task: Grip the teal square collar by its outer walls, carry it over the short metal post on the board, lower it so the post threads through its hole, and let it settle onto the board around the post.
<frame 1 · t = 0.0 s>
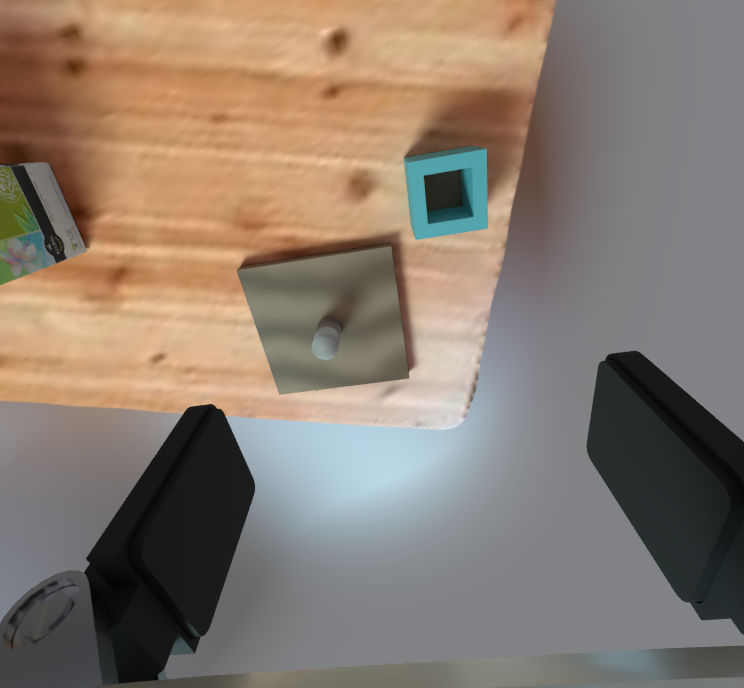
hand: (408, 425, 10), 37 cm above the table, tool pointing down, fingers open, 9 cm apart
post board: (330, 323, 49), on the table
collar: (440, 187, 41), on the table
tea box: (8, 212, 43), on the table
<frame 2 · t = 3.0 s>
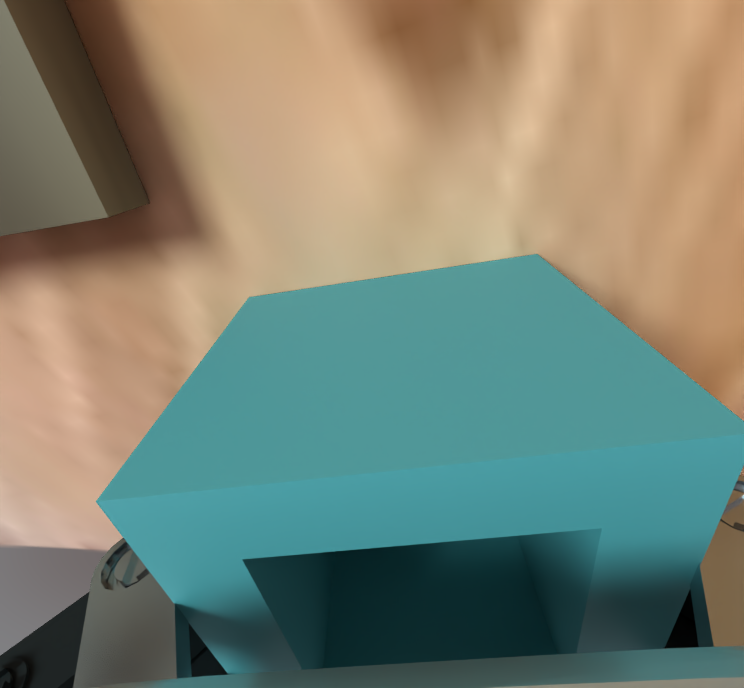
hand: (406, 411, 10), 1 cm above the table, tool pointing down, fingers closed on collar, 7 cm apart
collar: (405, 392, 11), on the table, touching gripper
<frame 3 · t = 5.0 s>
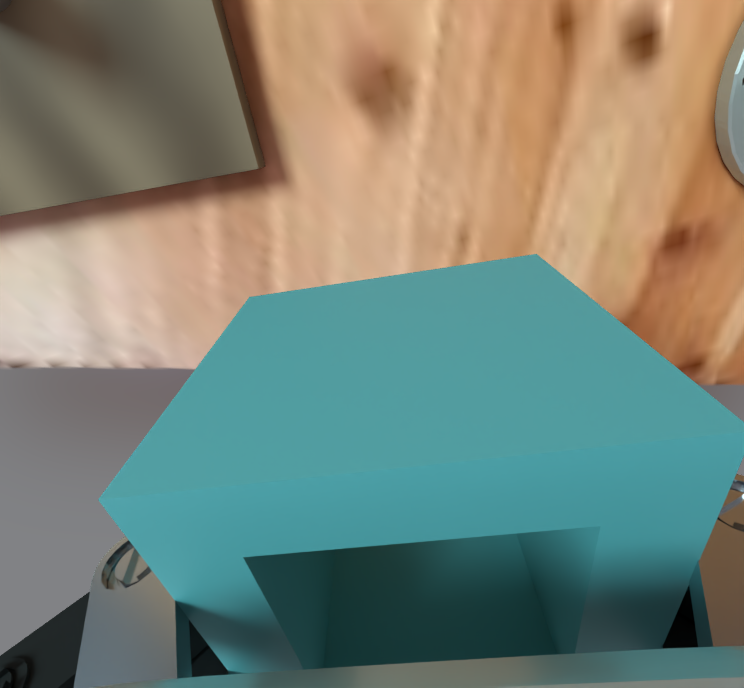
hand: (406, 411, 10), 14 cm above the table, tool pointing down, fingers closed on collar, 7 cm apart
collar: (405, 392, 11), point 14 cm above the table, touching gripper
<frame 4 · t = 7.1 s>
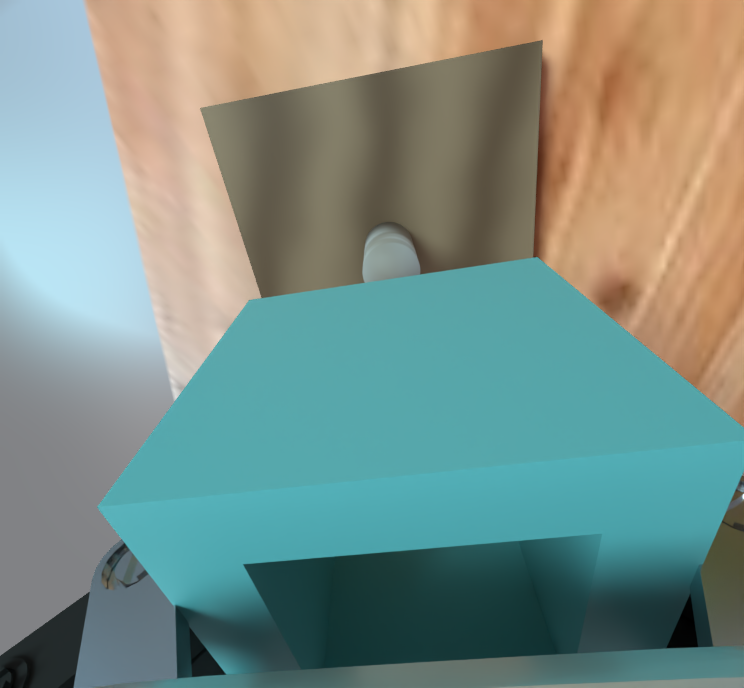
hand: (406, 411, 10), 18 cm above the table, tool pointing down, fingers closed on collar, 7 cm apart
post board: (388, 239, 26), on the table
collar: (405, 394, 11), point 17 cm above the table, touching gripper
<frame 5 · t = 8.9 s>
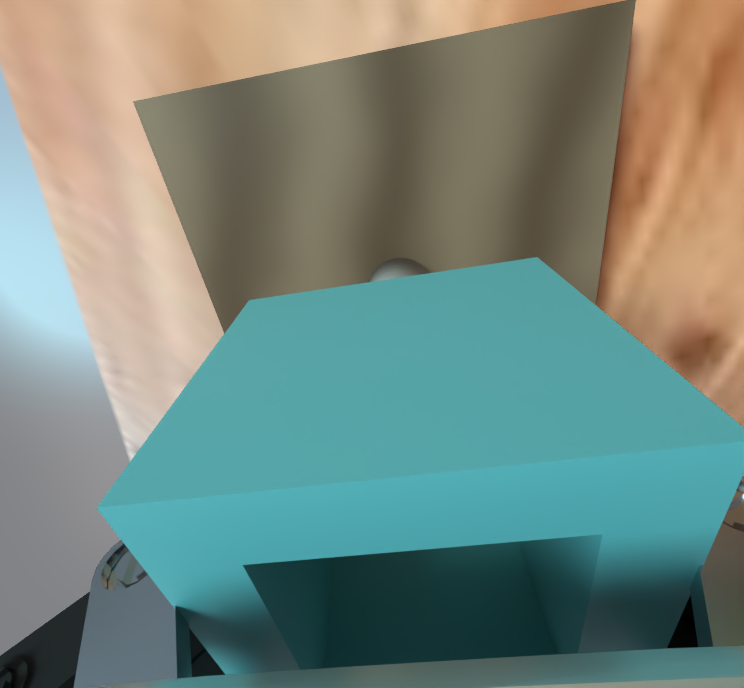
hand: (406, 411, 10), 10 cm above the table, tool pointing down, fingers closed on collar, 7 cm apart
post board: (398, 278, 19), on the table
collar: (405, 394, 11), point 10 cm above the table, touching gripper
when the fingers open (5 cm above the table, at t = 10.8 s): collar drops 2 cm, resting on post board.
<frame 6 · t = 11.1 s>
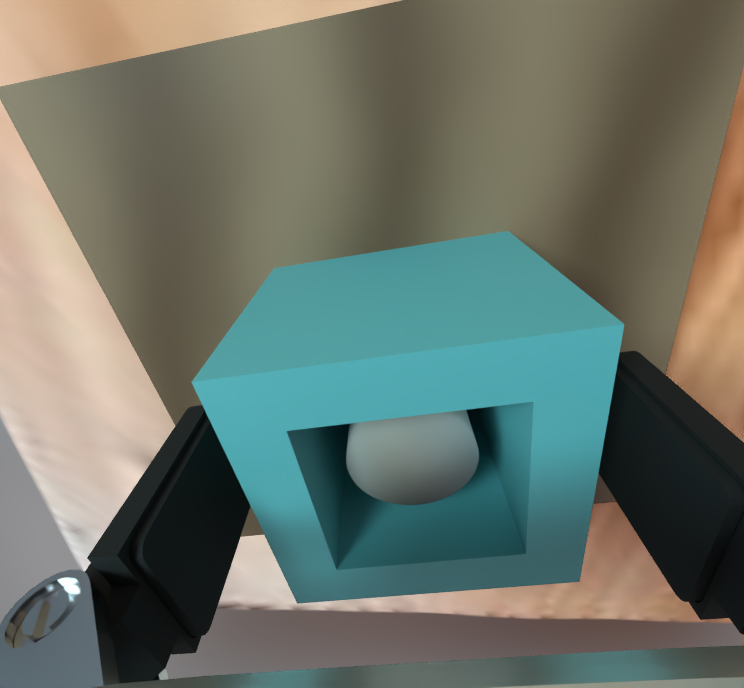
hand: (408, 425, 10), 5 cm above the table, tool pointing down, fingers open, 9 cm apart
post board: (398, 329, 14), on the table
collar: (402, 350, 13), point 1 cm above the table, touching post board
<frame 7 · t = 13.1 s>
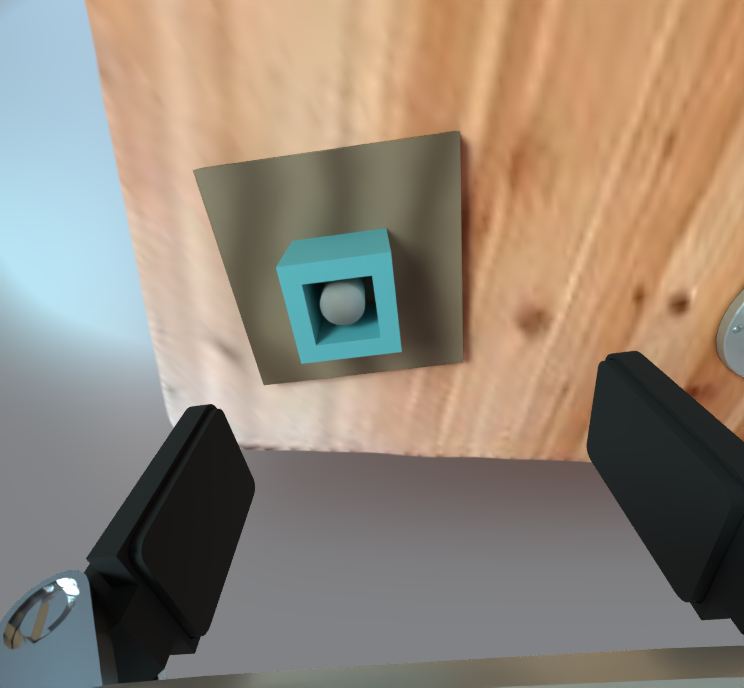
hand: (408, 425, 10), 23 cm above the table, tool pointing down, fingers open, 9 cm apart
post board: (346, 272, 31), on the table
collar: (346, 279, 30), point 1 cm above the table, touching post board
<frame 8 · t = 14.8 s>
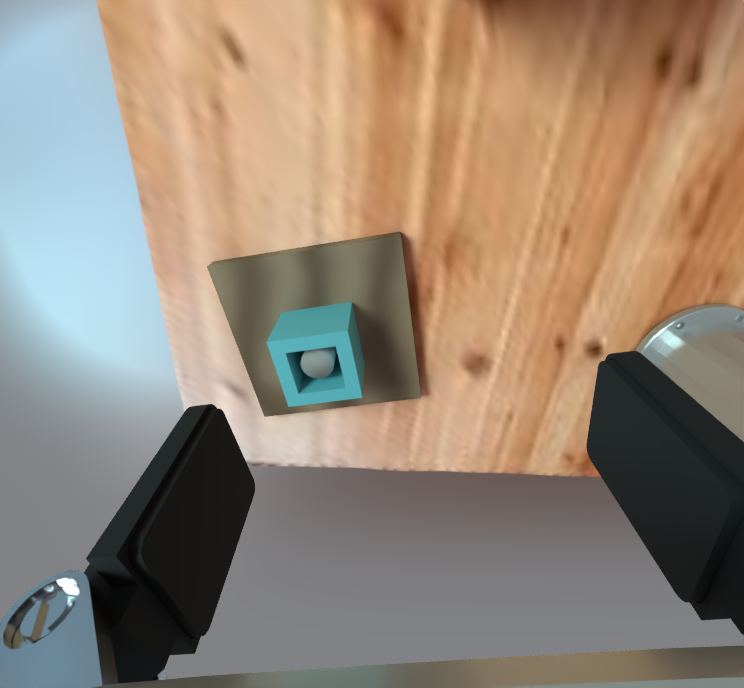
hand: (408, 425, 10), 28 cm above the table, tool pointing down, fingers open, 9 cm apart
post board: (325, 331, 40), on the table
collar: (324, 338, 39), point 1 cm above the table, touching post board
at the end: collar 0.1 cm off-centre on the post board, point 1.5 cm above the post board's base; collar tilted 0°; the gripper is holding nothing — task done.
